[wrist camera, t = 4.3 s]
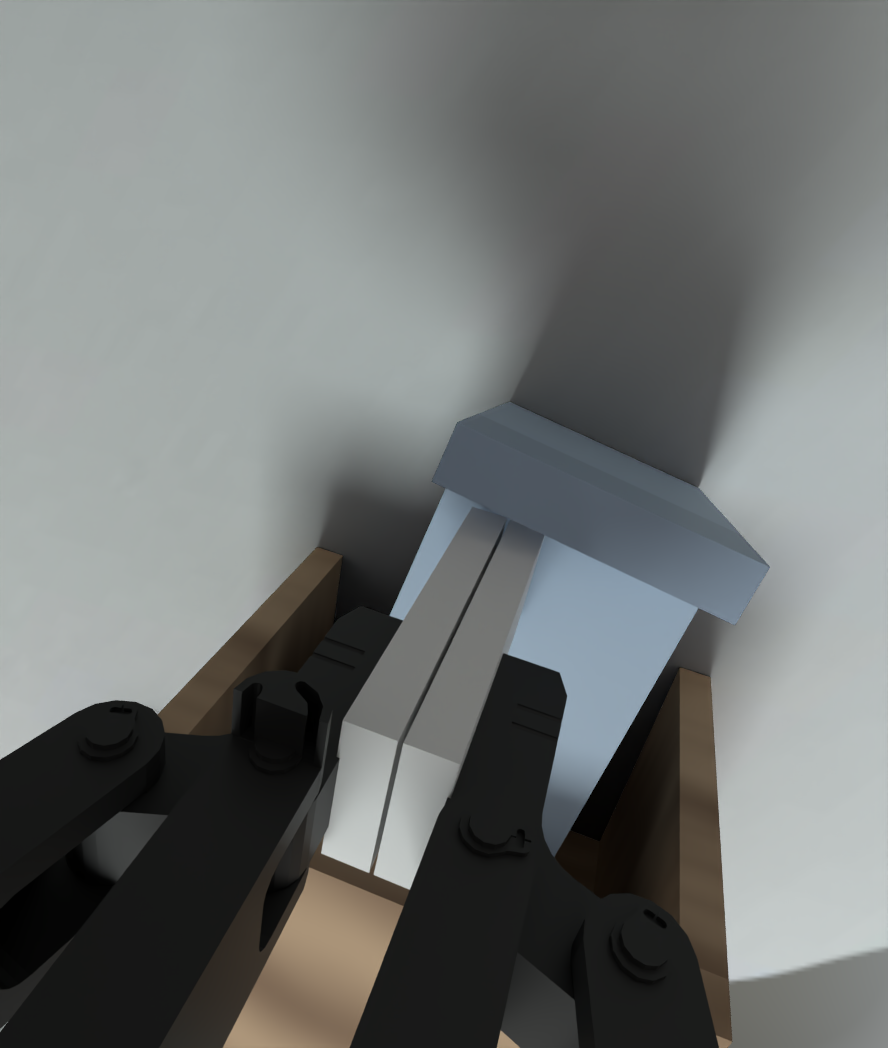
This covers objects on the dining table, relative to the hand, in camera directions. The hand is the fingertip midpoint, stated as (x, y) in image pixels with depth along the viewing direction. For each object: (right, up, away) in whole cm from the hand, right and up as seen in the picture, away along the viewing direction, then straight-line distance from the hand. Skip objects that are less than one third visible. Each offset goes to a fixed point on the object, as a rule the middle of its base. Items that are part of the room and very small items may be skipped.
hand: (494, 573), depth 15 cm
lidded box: (+1, -3, +8) cm, 8 cm away
